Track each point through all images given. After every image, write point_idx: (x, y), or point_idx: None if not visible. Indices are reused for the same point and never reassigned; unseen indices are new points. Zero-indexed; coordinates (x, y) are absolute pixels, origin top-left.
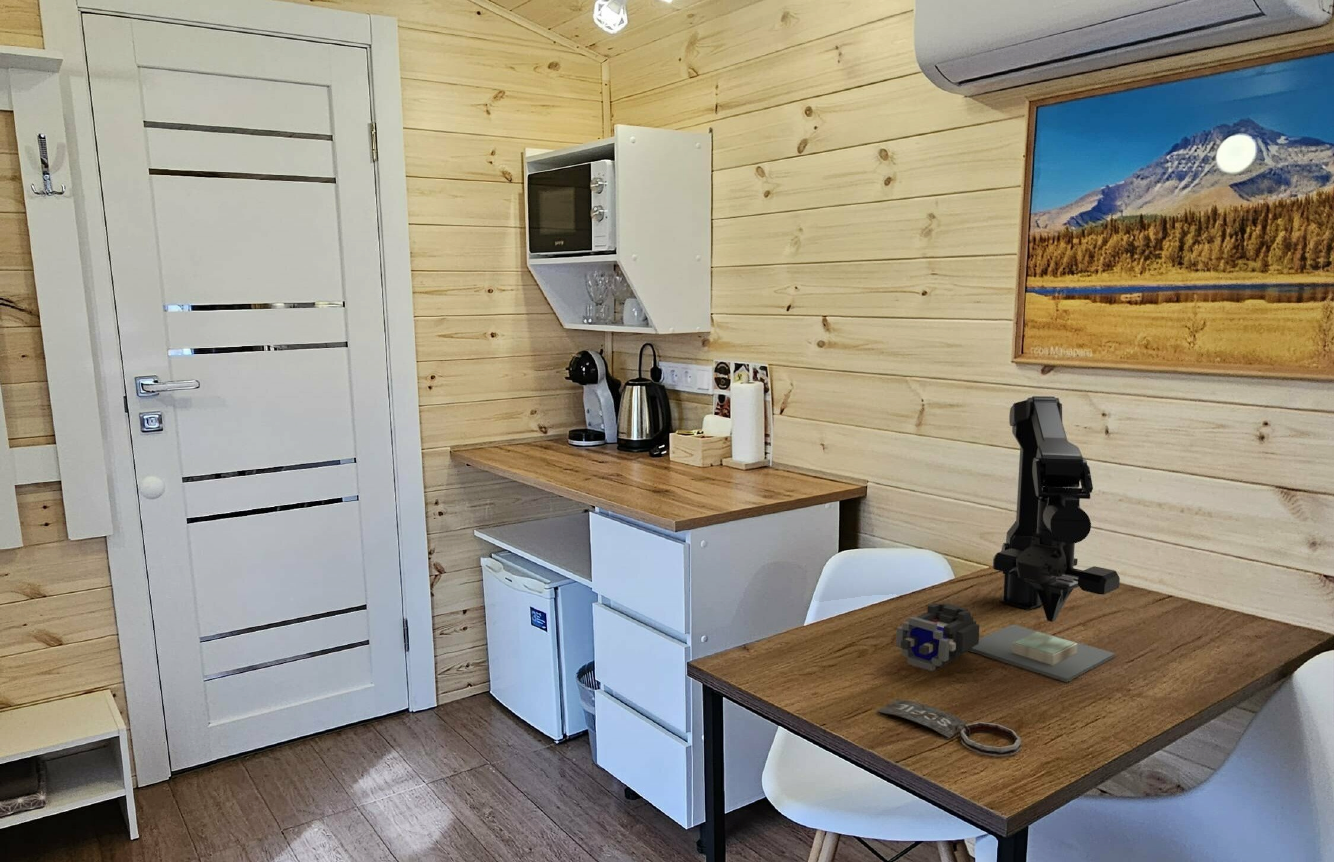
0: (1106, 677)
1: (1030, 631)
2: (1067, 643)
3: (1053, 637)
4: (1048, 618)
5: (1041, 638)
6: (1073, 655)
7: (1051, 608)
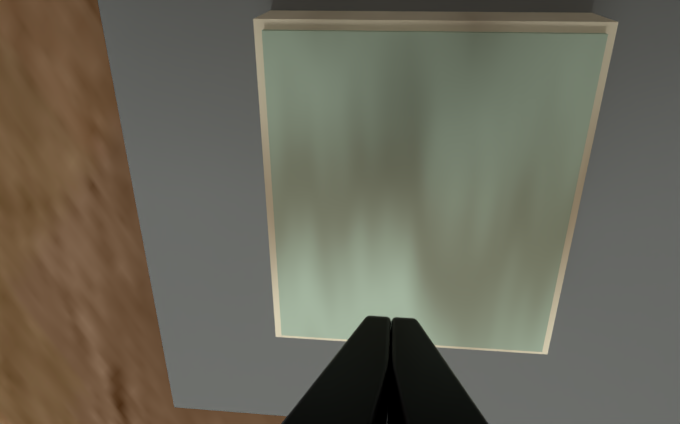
0: (34, 131)
1: (617, 417)
2: (305, 291)
3: None
4: (400, 327)
5: (469, 261)
6: None
7: (353, 402)
